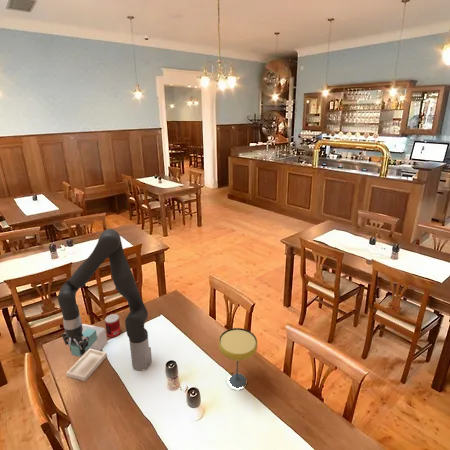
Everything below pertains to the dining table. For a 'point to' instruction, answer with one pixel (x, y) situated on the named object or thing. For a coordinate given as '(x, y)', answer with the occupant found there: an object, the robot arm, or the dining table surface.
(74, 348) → the teal box
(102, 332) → the box
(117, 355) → the dining table surface
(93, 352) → the tray
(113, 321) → the canned food
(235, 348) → the cocktail glass
